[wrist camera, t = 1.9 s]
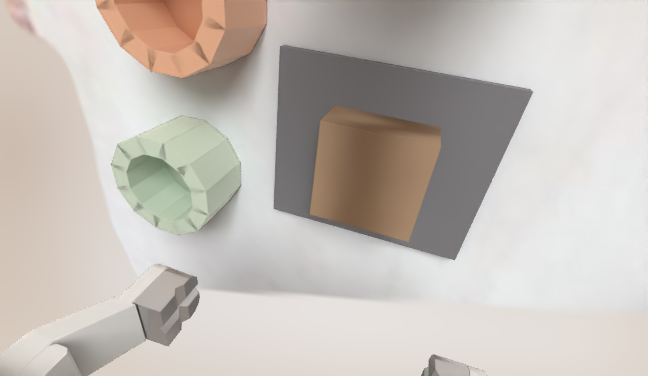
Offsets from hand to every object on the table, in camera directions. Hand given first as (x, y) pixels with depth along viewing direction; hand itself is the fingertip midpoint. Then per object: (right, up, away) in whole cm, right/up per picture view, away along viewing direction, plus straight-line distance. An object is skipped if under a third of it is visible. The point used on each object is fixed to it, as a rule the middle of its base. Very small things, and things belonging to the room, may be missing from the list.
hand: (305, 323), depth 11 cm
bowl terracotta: (-6, +16, +9) cm, 19 cm away
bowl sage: (-10, +7, +15) cm, 19 cm away
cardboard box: (+4, +6, +10) cm, 13 cm away
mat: (+4, +6, +11) cm, 13 cm away
